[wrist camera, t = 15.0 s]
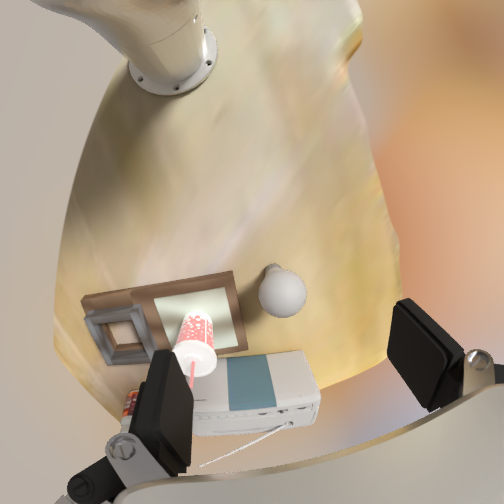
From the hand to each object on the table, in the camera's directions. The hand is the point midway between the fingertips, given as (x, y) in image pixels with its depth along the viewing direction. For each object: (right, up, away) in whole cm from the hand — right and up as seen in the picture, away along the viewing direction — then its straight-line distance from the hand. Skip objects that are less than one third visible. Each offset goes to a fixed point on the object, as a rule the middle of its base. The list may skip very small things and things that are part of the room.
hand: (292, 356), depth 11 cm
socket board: (-16, -7, +33) cm, 38 cm away
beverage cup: (-10, -7, +32) cm, 34 cm away
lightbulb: (+1, +2, +32) cm, 32 cm away
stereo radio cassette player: (-3, -17, +39) cm, 42 cm away
